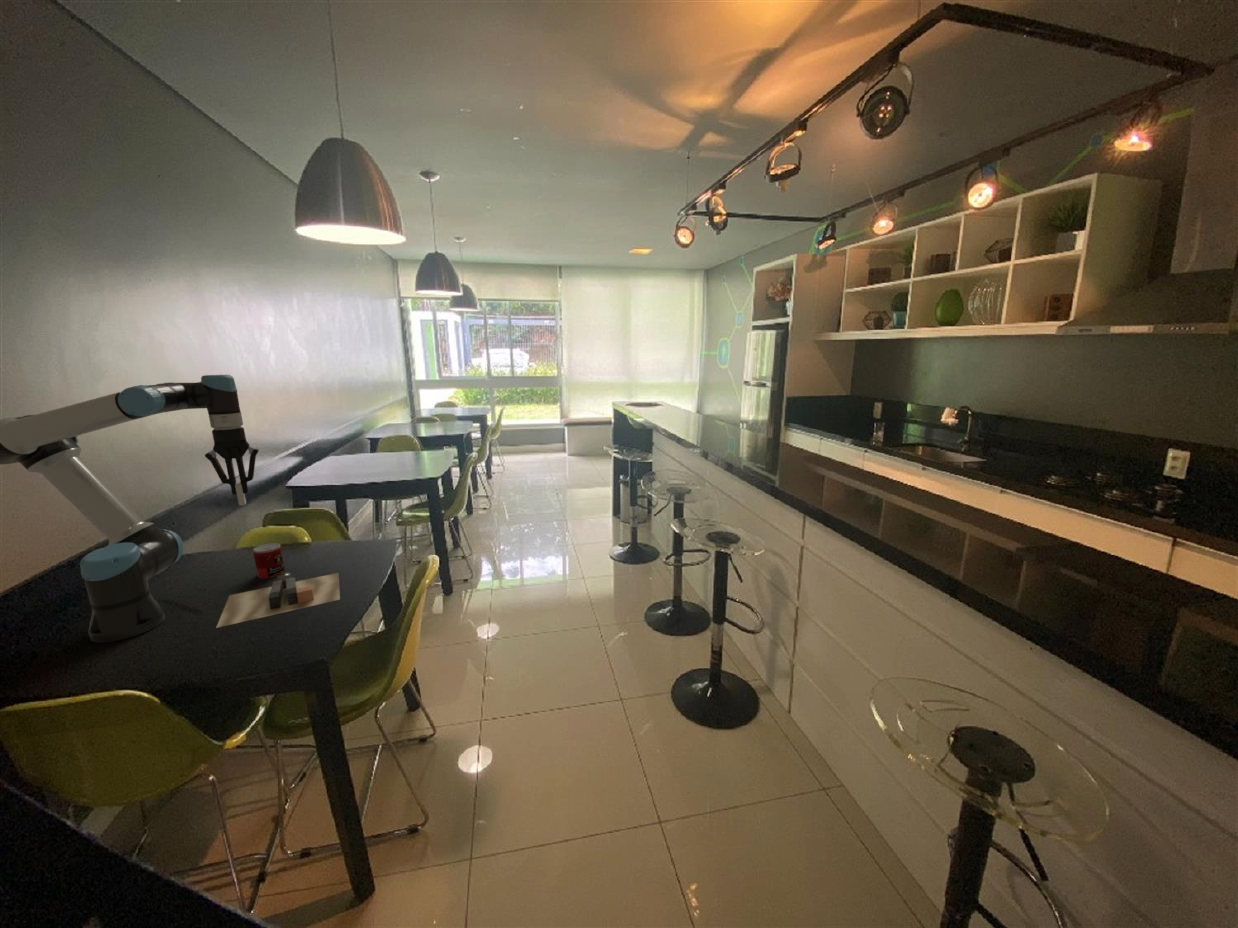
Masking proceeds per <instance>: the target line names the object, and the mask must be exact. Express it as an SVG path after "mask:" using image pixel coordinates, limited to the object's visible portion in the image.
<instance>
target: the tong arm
mask: <svg viewBox="0 0 1238 928" xmlns="http://www.w3.org/2000/svg"><path fill="white" fill-rule="evenodd" d="M286 587H287V589H286V591H287V599H288V604H289V605H293V604H297V603H298V597H297V586H296V576H294V577H293V576H292V577H291V578H288V579H286Z"/></svg>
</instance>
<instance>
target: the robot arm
mask: <svg viewBox="0 0 1238 928" xmlns="http://www.w3.org/2000/svg"><path fill="white" fill-rule="evenodd" d="M193 409H194V410H195V409H206V411H207V413H208V419H209V424H210V428H212V431H211V433H212V434H211V435H212V439H213V444H214V445H213V447H212V450H210V451H209V452H207V453H205V454H204V457H205V458H206V460H209V462H210V463H211V464H212V467H213V469H214V471H215V473H216V474H217V476H218V478H219V479H220V480H219V481H221V483H222V484H225V485H229V486H230V489H231V490H230V491H231V493H232V495H233V496H237V502H238V506H245V505H246V504H247V499H246V495H245V494H248V492H249V486H248V482H250V481H252V480H253V479H254V477H255V476H254V475H255V466H256V459H257V458H256V457H257V454H258V453H259V451H260V449H259V448H258V447H253V446H250V444H249V442H248V441H247V438H246V433H245V428H244V427H242V426H243V425H244V421H243V416H242V412H241V407H240V401H239V395H238V388H237V385H236V382H235V379H234V376H232V375H230V374H206V375H205V374H204V375H201V378H200V381H199V382H198V381H197V382H163V383H157V384H149V385H146V384H145V385H143V384H141V385H140V384H139V385H134V386H130V387H127V388H125V389H123V390H122V391H118V392H114V393H111V394H107V395H103V396H99V397H96V398H92V399H88V400H85V401H81V402H78V403H74V404H69V405H66V406H63V407H59V408H55V409H51V410H47V411H45V412H39V413H38V414H37V413H36V414H28V415H23V416H19V417H18V416H17V417H5V418H1V419H0V465H11V464H16V463H17V464H18V463H20V464H21V466H23V467H24V468H25V469H26V470H27V471H28V472H30V473H37V474H38V473H39V474H41V475H42V476H43V477H44V478H45V479H46V480H48V482H49V483H50V484H51V485H52V486H54V488H56V489H57V491H59V493H61V495H63V496H64V498H65V499H67V500H68V501H69V502H70V504H72V505H73V506H74V507H75V508H76V510H78V511H79V512H80V513H81V514H82V515H83V516H84V517H85V518H86V519H87V520H88V521H89V522H90V523H91V524H92V525H94V527H95V528H96V529H97V530H98V531H100V533H101V534H103V536H105V537H106V538H107V540H108V545H105V546H104V547H100V548H97V549H94V550H93V551H91V552H89V553H87V554H86V555H85V556H84V557H82V559H81V560H80V562H79V566H80V567H79V568H80V575H81V578H82V581H83V583H84V587H85V590H86V593H87V597H88V600H89V604H90V606H91V617H90V622H89V628H88V636H89V639H90V641H91V642H93V643H99V644H101V643H102V644H104V643H111V642H118V641H124V640H126V639H130V638H133V637H136V636H139V635H142V634H144V633H146V632H148V631H151V630H153V629H155V628H157V627H158V626H160V625H161V624H162V623H163V622H164V621H165V620H166V615H165V612H164V609H163V608H162V607H161V605H160V604H159V603H158V601H156V599H155V598H154V597H153V596H152V593H151V591H150V586H149V580H151V579H152V578H153V577H155V576H156V575H158V574H160V573H162V572H163V571H165V570H168V569H169V568H171V567H172V566H173V565H174V564H176V563H177V562H178V561H179V560H180V559H181V557H182V555H183V553H184V543H183V541H182V538H181V537H180V535H178V534H177V533H176V532H174V531H172V530H170V529H169V530H168V529H164V528H160V527H158V526H157V525H156V524H155V523H154V522H149V521H144V520H142V519H141V518H140V517H139V515H138V514H136V512H134V511H133V509H132V508H131V507H129V506H128V504H127V503H126V502H125V501H123V500H122V498H121V497H120V496H119V495H118V494H117V493H116V492H115V491H114V490H113V489H112V488H111V487H110V486H109V485H108V484H107V483H106V482H105V481H104V480H103V479H102V477H100V476H99V474H97V473H96V472H95V471H94V470H93V469H92V467H90V466H89V465H88V463H86V461H84V460H83V458H81V456H80V455H81V453H82V452H81V451H82V448H81V447H80V446H79V445H78V442H79V439H78V436H81V435H85V434H89V433H92V432H95V431H100V430H102V429H106V428H110V427H114V426H116V425H117V426H118V425H120V424H124V423H128V422H131V421H135V420H138V419H139V420H140V419H142V418H148V417H150V416H155V415H157V414H158V415H159V414H162V413H169V412H175V411H181V410H193ZM247 451H248V455H250V456H249V462H248V471H247V473H248V474H246V470H245V464H244V459H243V457H244V456H245V454H246V452H247ZM217 454H218V455H217ZM217 456H220V457H221V458H222V459H224V462H225V467H226V470H227V474H226V472H225V470H224V469H223V467H222V465H221V463H220V462H219V459H218V458H217ZM233 459H235V462H236V466H237V471H238V475H239V481H240V482H237V480H236V479H237V478H236V475H235V469H234V464H233Z"/></svg>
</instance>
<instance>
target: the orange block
mask: <svg viewBox="0 0 1238 928" xmlns="http://www.w3.org/2000/svg"><path fill="white" fill-rule="evenodd" d="M297 597H298V603H302V602H307V601H311V600H314V592H313V586H308V587H303V588H299V589H297Z"/></svg>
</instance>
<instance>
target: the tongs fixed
mask: <svg viewBox="0 0 1238 928" xmlns="http://www.w3.org/2000/svg"><path fill="white" fill-rule="evenodd" d="M276 577H277V580H275V581H273V582H272V583H271V584H272V585H271V587H272V588H271V592H270V595H269V603H270V609H276V608H280V607H281V604H282V598H283V592H284V588H287V587H286V579H288V578H292V573H291V572H290V571H288V572H287V571H285V572H284V573H281V574H279V575H278V576H276Z"/></svg>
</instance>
